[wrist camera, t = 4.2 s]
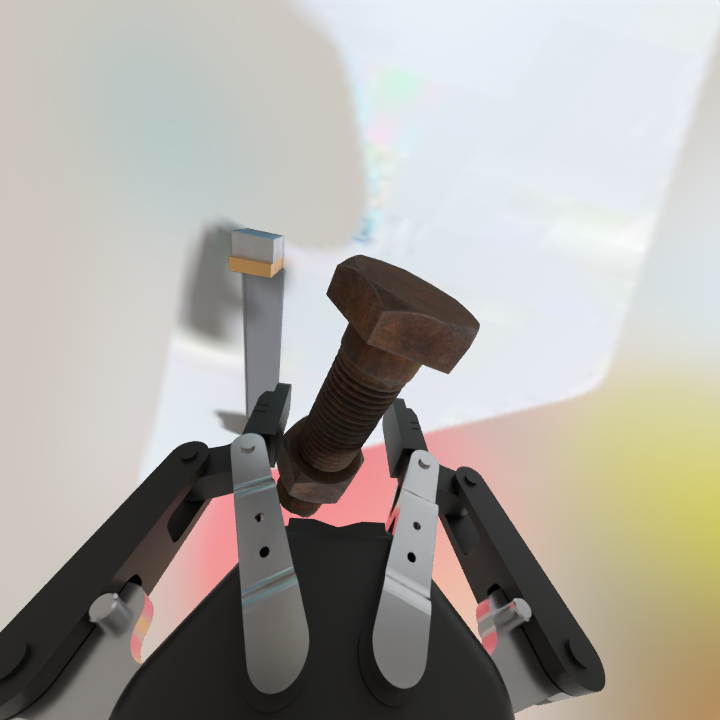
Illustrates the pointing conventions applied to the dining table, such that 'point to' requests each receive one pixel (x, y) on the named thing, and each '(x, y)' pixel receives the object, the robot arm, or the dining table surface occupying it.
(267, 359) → the pad
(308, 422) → the bolt
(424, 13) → the dining table surface
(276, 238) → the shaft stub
